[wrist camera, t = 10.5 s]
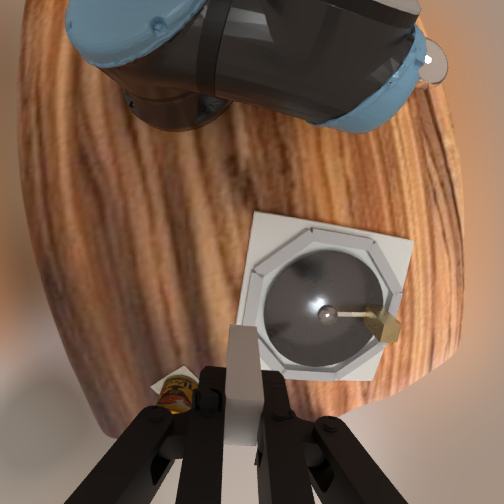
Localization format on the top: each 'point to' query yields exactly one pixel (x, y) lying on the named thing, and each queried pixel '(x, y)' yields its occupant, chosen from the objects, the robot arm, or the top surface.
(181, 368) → the condiment
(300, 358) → the dial
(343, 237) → the dial base
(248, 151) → the top surface
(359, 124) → the robot arm
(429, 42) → the light bulb
